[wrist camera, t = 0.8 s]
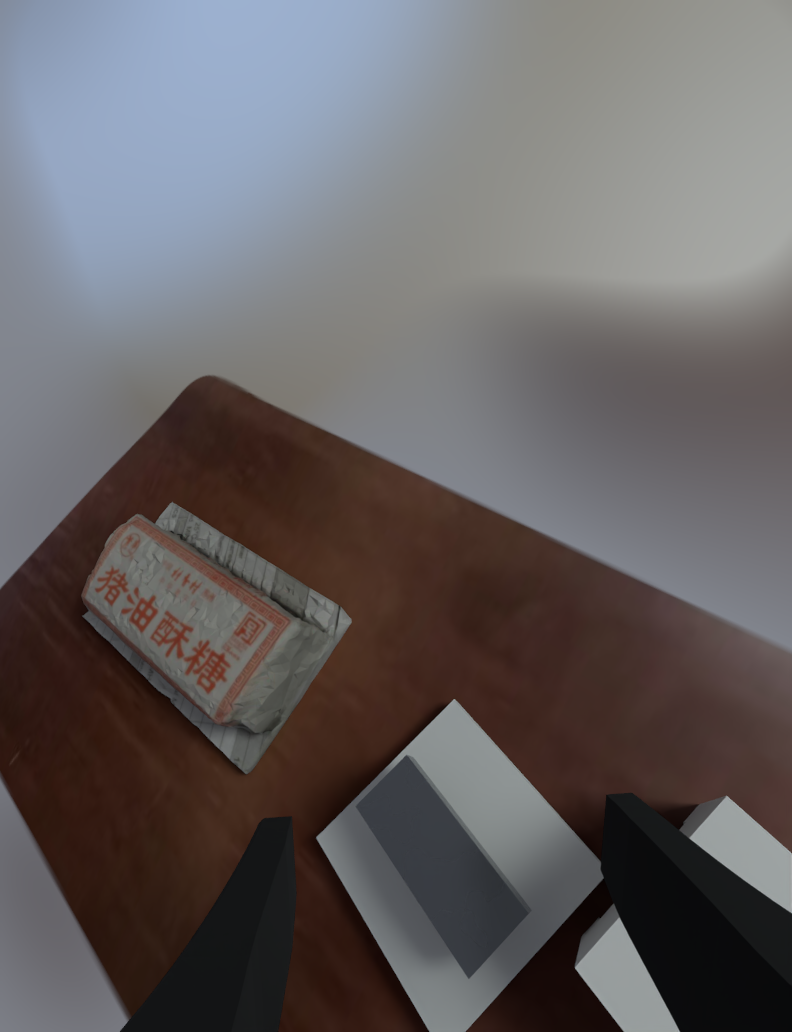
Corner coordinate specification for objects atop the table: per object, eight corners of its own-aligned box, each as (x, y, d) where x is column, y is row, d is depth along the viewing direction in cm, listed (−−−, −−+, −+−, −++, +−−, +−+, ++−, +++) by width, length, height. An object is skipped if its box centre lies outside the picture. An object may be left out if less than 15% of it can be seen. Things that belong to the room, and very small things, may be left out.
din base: (608, 870, 22) (608, 872, 21) (450, 1047, 21) (443, 1055, 20) (458, 703, 27) (454, 699, 26) (325, 837, 26) (316, 837, 25)
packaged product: (325, 589, 27) (201, 767, 25) (360, 620, 31) (256, 777, 29) (140, 476, 37) (35, 597, 34) (185, 510, 41) (94, 621, 38)
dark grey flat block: (531, 910, 20) (528, 913, 19) (474, 973, 19) (468, 979, 19) (413, 757, 24) (406, 754, 23) (364, 807, 23) (355, 806, 23)
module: (817, 913, 19) (890, 940, 14) (688, 1069, 18) (718, 1155, 13) (697, 803, 22) (725, 794, 17) (580, 935, 21) (573, 966, 16)
